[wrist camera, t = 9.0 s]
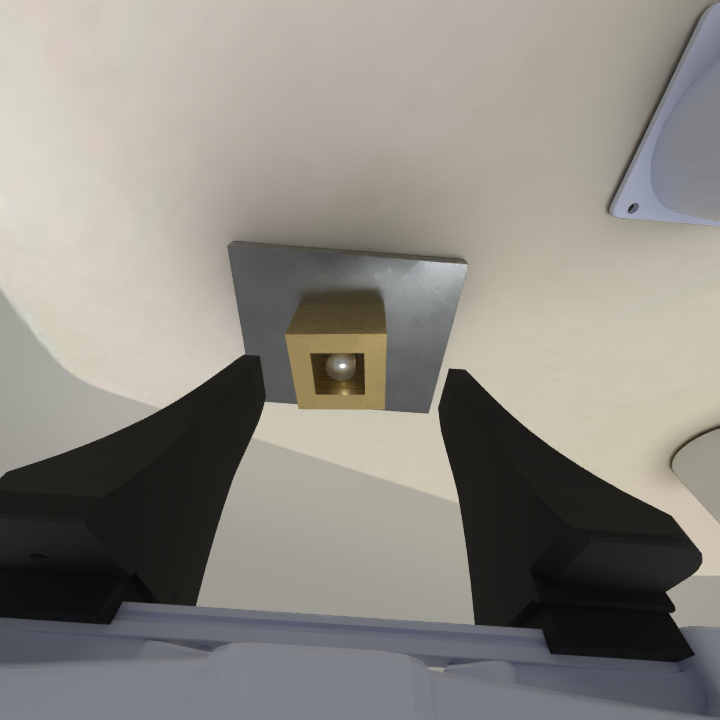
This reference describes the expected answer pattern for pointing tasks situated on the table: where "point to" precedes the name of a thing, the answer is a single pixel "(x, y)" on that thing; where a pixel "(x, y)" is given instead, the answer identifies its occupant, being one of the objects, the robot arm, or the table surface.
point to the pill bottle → (701, 470)
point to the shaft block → (349, 285)
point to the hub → (338, 335)
